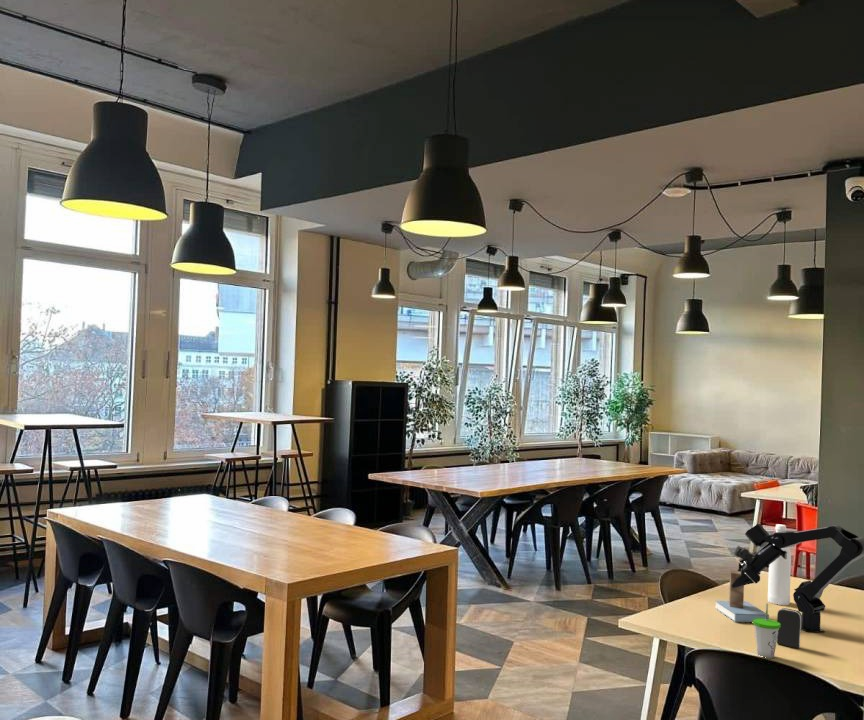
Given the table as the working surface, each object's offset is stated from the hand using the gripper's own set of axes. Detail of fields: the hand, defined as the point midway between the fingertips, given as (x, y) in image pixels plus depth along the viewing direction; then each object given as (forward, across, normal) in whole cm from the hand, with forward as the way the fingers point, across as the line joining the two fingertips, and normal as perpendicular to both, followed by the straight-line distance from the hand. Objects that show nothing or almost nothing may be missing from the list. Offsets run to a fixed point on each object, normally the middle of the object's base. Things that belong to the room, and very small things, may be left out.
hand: (731, 584), depth 282 cm
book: (+5, +1, +10) cm, 11 cm away
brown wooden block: (+4, 0, +7) cm, 8 cm away
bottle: (-6, -26, +21) cm, 34 cm away
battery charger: (-3, +31, +18) cm, 36 cm away
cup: (+3, +46, +13) cm, 48 cm away
